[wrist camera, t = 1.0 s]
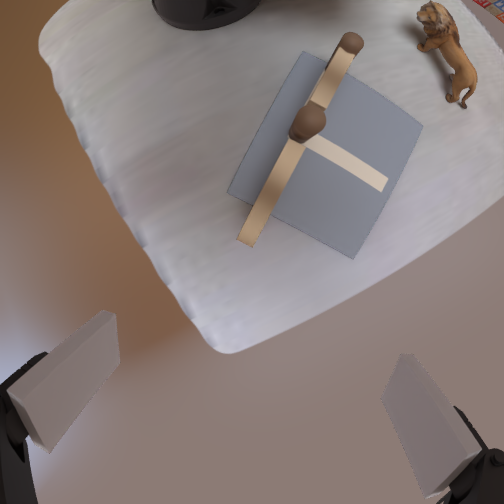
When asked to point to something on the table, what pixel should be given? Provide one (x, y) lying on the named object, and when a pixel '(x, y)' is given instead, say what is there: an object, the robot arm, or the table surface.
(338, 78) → the fence post and fixed section
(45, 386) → the robot arm
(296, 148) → the hinged fence panel
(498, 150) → the table surface
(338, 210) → the card
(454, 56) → the lion figurine
